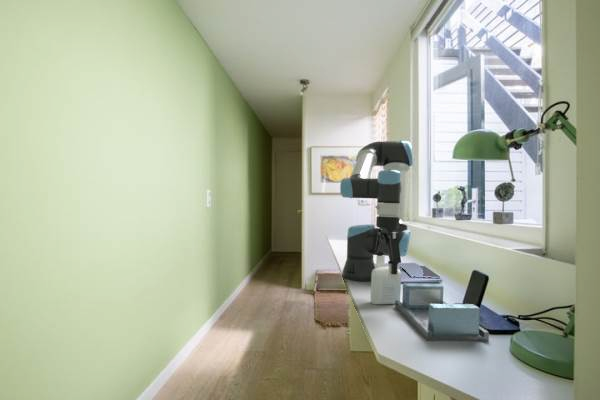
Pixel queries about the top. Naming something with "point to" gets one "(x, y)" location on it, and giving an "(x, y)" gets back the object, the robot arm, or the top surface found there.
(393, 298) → the white rounded slab
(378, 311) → the top surface
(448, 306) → the vise
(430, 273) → the notebook
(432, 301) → the sliding jaw
